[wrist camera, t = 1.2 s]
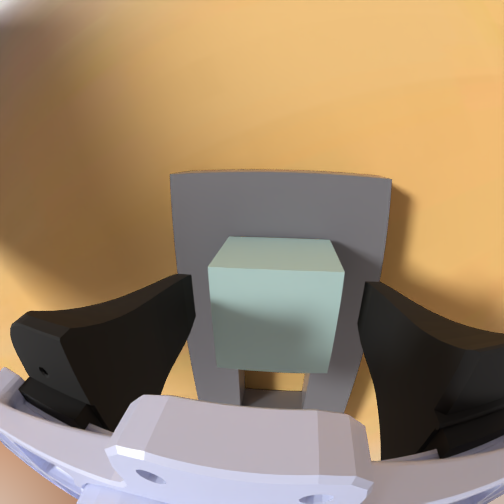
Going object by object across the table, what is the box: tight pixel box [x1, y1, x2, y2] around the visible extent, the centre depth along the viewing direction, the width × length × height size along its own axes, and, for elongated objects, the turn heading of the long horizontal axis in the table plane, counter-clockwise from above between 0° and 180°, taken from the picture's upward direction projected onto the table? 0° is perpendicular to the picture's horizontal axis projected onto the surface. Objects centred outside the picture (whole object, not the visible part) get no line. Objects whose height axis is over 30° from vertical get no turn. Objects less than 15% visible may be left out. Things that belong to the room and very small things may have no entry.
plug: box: [208, 236, 345, 373], centre depth 12 cm, size 4×4×6 cm
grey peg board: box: [170, 169, 392, 413], centre depth 16 cm, size 18×10×2 cm, turn 1°
